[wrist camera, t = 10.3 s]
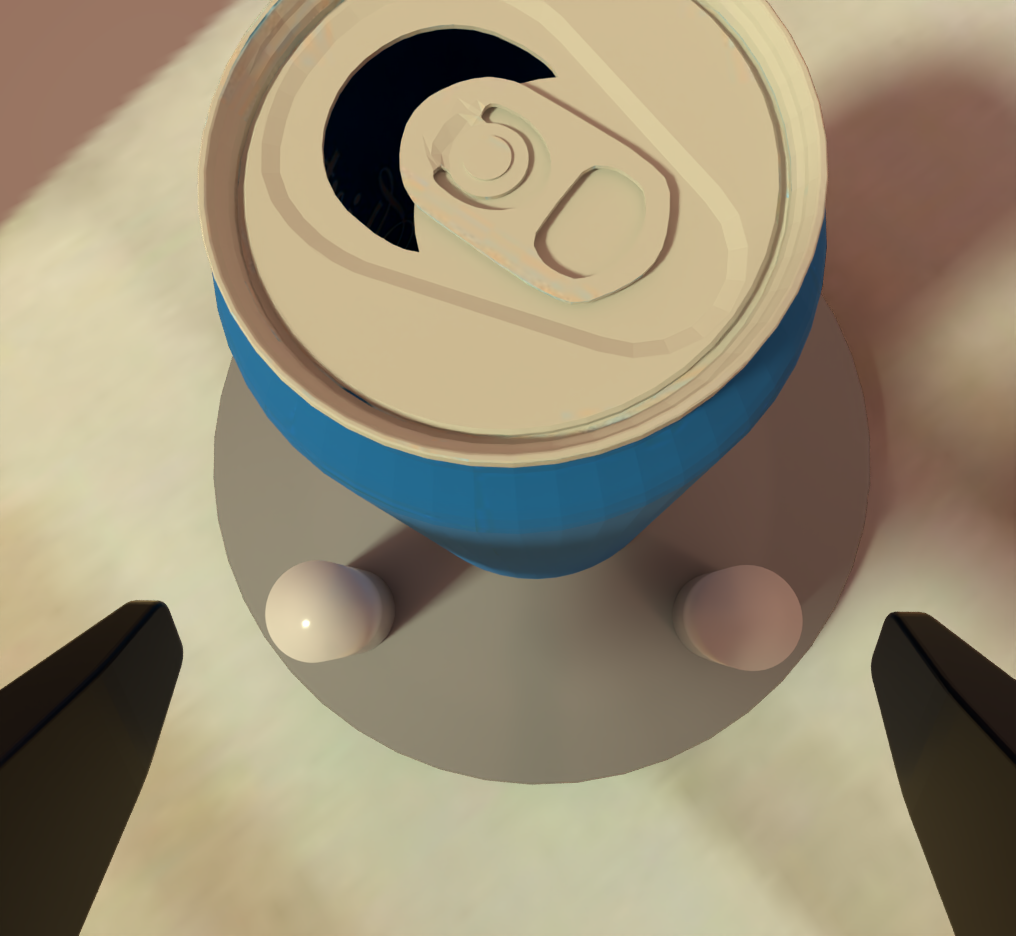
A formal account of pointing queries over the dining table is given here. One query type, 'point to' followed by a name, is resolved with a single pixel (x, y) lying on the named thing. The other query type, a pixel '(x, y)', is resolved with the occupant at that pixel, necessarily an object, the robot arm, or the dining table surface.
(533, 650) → the peg stand
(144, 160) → the dining table surface
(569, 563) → the beverage can
